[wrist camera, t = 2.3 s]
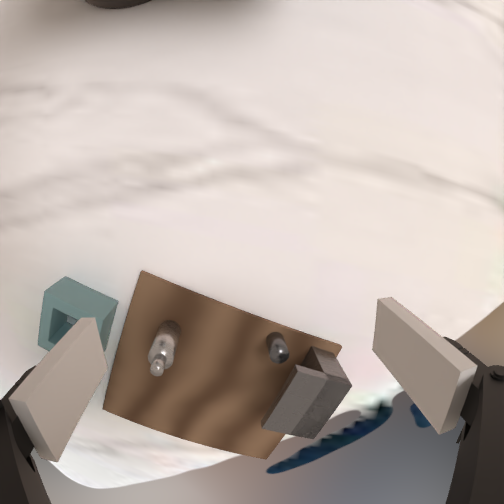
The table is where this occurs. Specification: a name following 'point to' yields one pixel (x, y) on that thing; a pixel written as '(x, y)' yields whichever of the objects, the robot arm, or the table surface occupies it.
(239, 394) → the board
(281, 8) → the table surface
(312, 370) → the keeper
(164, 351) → the peg
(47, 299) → the link
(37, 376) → the robot arm
